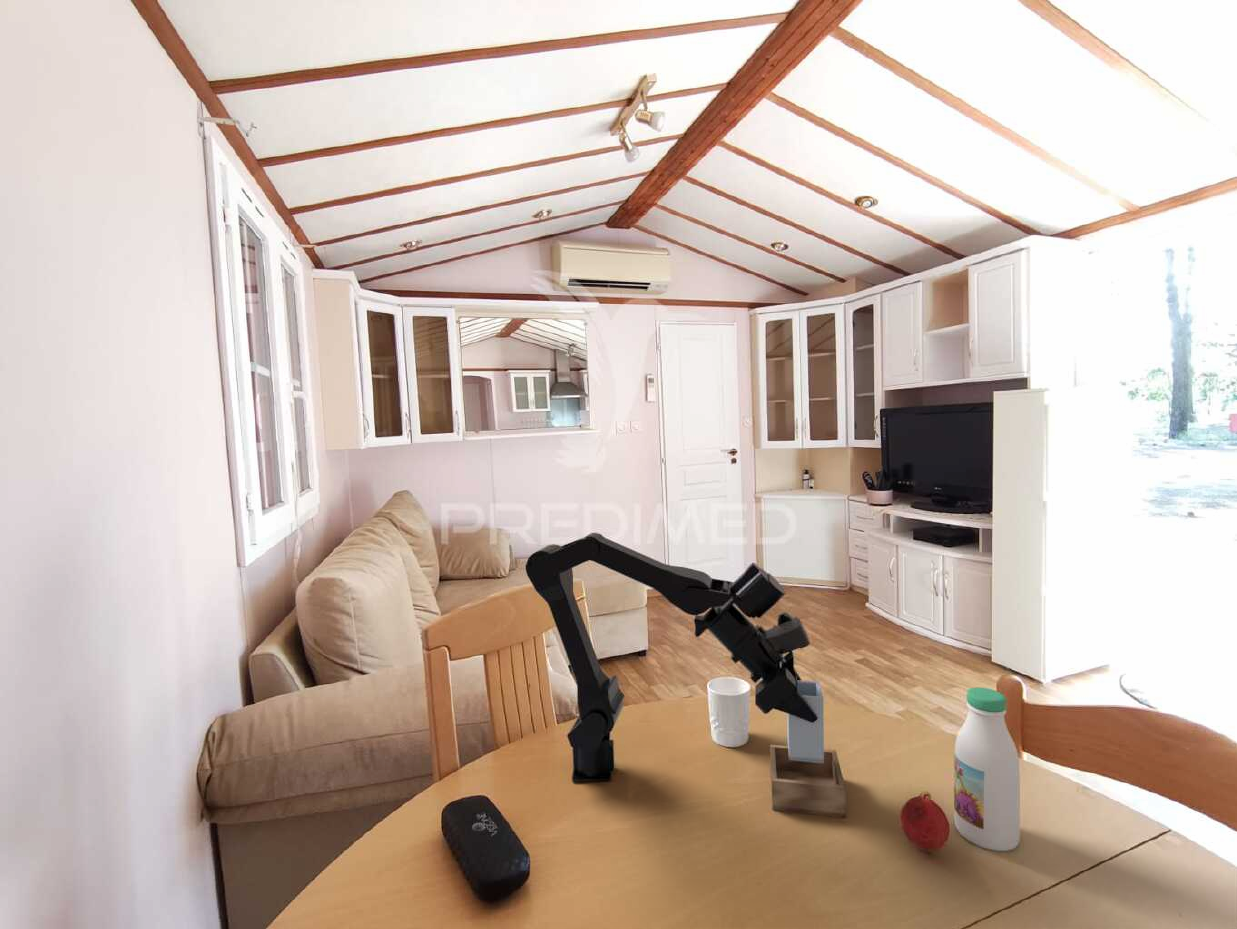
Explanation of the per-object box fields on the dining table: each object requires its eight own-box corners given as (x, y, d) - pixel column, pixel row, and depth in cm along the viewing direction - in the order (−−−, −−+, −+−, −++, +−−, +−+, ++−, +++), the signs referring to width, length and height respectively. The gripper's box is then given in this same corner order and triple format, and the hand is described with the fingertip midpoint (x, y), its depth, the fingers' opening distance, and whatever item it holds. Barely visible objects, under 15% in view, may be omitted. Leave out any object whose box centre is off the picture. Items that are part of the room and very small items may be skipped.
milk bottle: (1009, 821, 84) (1010, 684, 83) (1028, 858, 76) (1028, 709, 75) (949, 811, 86) (948, 678, 85) (960, 846, 79) (960, 702, 78)
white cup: (755, 749, 105) (754, 694, 104) (711, 749, 105) (710, 695, 104) (746, 727, 113) (745, 676, 112) (705, 727, 113) (704, 677, 112)
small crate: (789, 759, 89) (788, 695, 88) (787, 739, 95) (786, 679, 94) (823, 763, 88) (823, 698, 87) (819, 742, 93) (819, 681, 93)
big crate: (772, 809, 88) (771, 780, 88) (770, 770, 98) (770, 744, 98) (845, 817, 85) (845, 787, 85) (836, 777, 96) (835, 750, 95)
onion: (930, 871, 75) (930, 811, 74) (891, 844, 80) (890, 787, 79) (958, 855, 77) (958, 797, 77) (919, 830, 82) (918, 775, 82)
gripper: (778, 621, 82) (863, 705, 80) (775, 587, 100) (844, 654, 98) (722, 672, 84) (803, 755, 82) (729, 630, 102) (795, 696, 100)
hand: (813, 710), depth 90 cm, fingers closed on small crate, 6 cm apart
